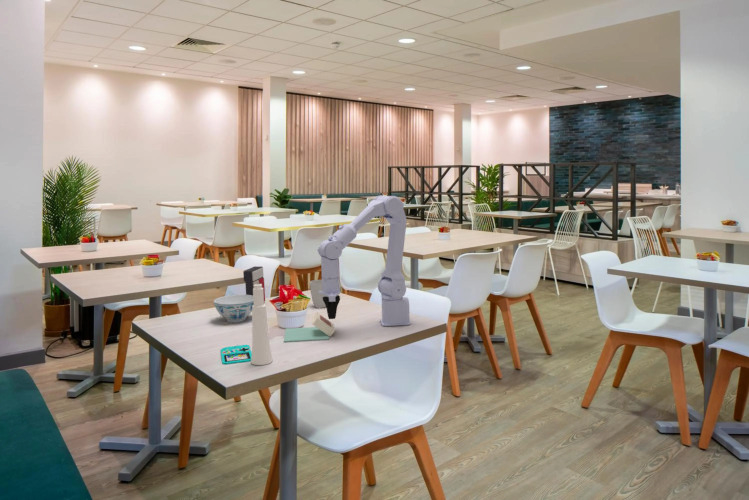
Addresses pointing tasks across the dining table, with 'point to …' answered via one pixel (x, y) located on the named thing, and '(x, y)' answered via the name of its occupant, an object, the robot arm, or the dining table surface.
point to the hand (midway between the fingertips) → (331, 318)
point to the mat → (304, 334)
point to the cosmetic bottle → (260, 329)
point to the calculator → (253, 279)
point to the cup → (317, 293)
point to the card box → (323, 324)
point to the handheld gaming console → (236, 354)
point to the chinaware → (234, 307)
